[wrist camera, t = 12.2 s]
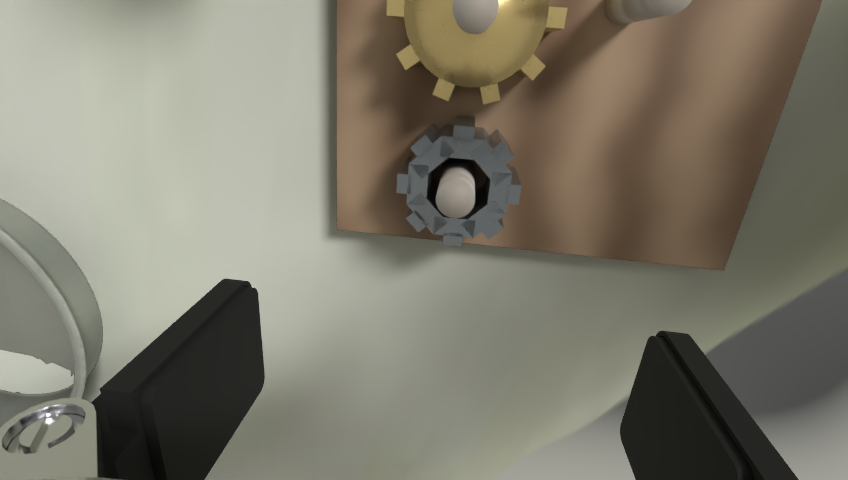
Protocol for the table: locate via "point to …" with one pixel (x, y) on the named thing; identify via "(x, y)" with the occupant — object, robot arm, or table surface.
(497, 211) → the steel gear
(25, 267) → the cake pan
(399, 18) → the brass gear
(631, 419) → the robot arm
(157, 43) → the table surface
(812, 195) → the table surface
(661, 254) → the board
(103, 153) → the table surface
